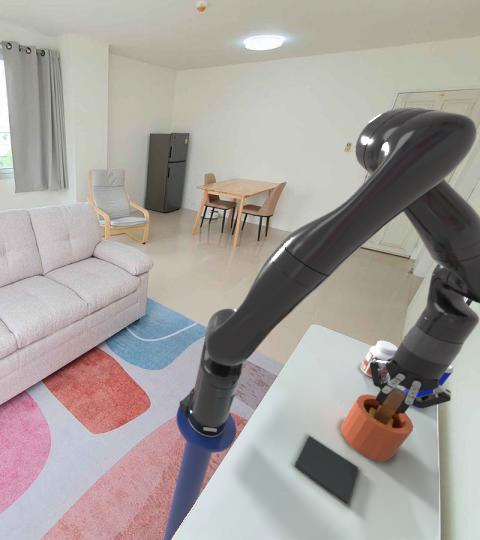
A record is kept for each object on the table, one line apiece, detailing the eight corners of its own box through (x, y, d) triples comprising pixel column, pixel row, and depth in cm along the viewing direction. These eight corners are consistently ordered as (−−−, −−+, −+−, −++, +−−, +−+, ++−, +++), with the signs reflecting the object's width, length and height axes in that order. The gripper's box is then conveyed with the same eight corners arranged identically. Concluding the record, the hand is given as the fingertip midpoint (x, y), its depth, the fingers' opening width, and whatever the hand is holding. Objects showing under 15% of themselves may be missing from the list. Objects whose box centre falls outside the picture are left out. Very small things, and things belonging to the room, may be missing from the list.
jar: (336, 438, 72) (352, 411, 68) (346, 413, 79) (361, 387, 74) (388, 470, 66) (410, 443, 61) (394, 441, 72) (415, 414, 68)
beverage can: (425, 402, 83) (454, 363, 76) (423, 413, 80) (455, 373, 73) (401, 391, 86) (428, 352, 79) (399, 401, 83) (427, 362, 76)
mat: (294, 466, 66) (295, 464, 66) (308, 437, 72) (309, 435, 72) (346, 504, 60) (347, 502, 59) (357, 468, 66) (358, 467, 66)
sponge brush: (358, 431, 71) (384, 391, 65) (362, 420, 74) (387, 380, 68) (381, 444, 69) (410, 403, 62) (384, 432, 71) (412, 392, 65)
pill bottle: (389, 378, 90) (407, 351, 85) (373, 381, 89) (390, 354, 84) (370, 364, 96) (385, 337, 91) (355, 366, 94) (369, 339, 89)
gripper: (381, 340, 61) (348, 397, 69) (478, 379, 53) (428, 439, 60) (386, 325, 66) (355, 380, 74) (476, 359, 57) (430, 417, 65)
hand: (388, 406), depth 67 cm, fingers closed on sponge brush, 2 cm apart
